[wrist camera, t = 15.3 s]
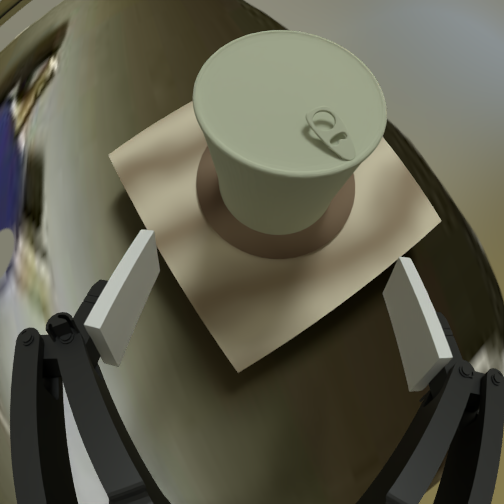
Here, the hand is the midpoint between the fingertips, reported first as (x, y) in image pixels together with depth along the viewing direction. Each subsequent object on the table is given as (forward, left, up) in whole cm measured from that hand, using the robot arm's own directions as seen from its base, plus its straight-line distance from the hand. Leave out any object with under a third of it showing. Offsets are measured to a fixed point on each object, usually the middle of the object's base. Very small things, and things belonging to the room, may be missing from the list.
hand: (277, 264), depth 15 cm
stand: (-6, +5, -12) cm, 14 cm away
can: (-6, +5, -7) cm, 10 cm away
